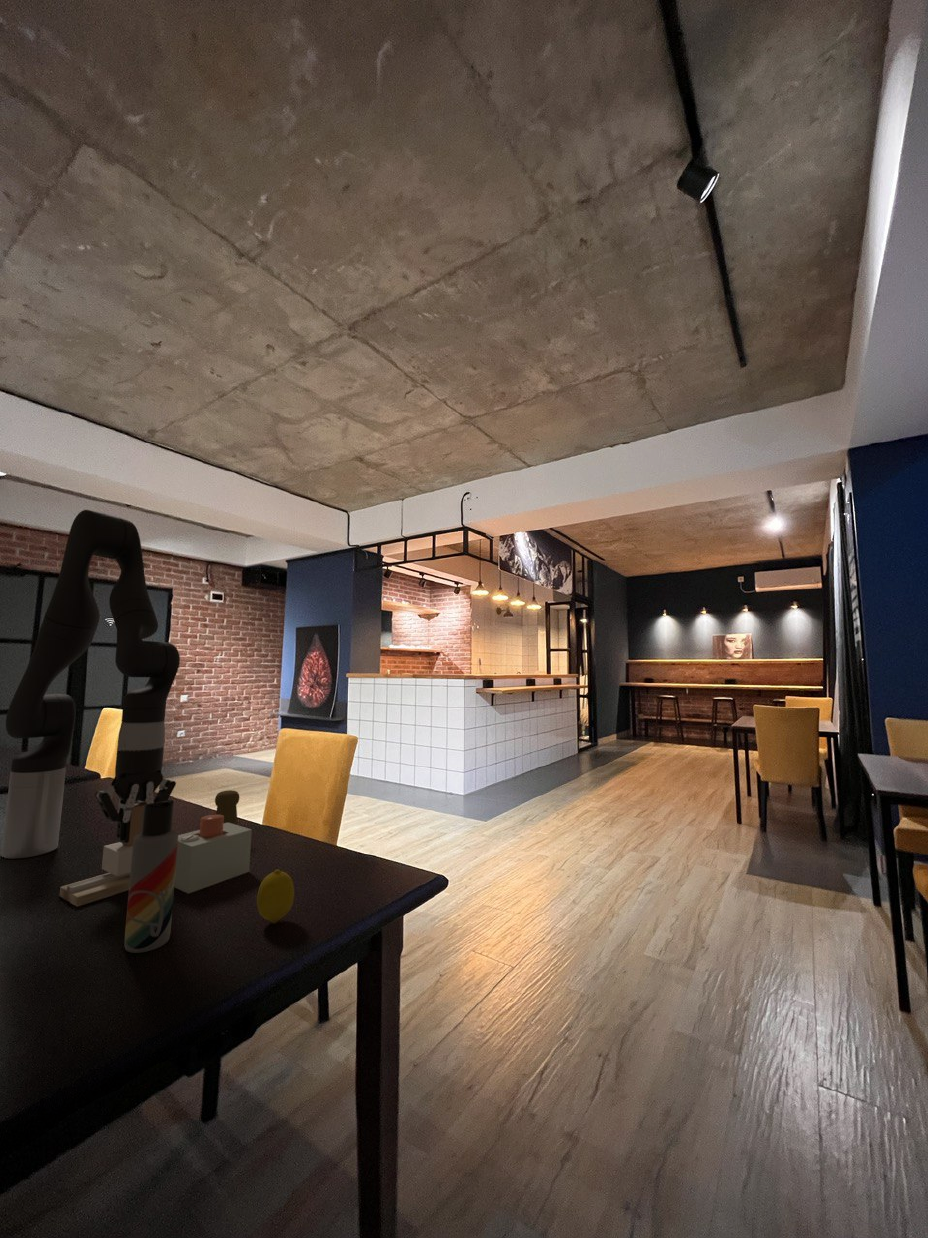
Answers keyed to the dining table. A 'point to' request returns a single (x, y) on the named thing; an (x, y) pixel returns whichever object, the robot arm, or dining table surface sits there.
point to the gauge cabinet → (211, 857)
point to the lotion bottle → (152, 880)
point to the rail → (95, 888)
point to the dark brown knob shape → (227, 805)
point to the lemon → (275, 896)
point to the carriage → (123, 846)
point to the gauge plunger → (211, 826)
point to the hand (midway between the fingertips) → (132, 839)
